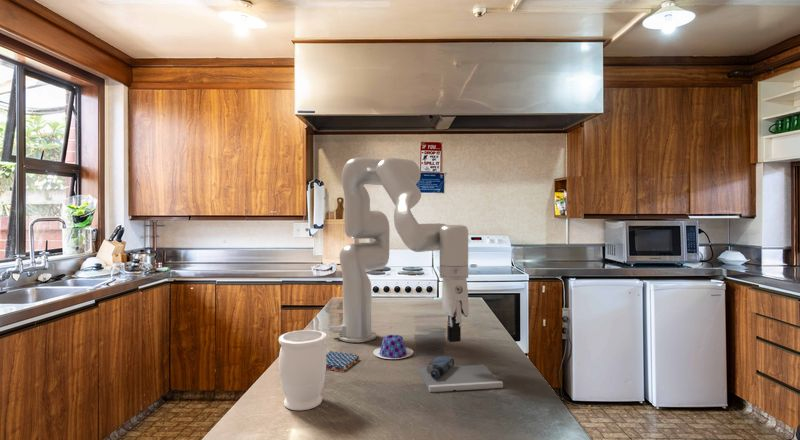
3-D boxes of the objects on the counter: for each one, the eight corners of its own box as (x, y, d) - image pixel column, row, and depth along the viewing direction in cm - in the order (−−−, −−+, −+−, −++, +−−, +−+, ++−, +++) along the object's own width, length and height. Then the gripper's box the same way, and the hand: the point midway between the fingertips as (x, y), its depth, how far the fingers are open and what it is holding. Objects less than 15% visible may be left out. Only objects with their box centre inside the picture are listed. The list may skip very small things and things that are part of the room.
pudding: (374, 348, 137) (374, 331, 137) (413, 348, 136) (413, 331, 136) (371, 361, 125) (371, 343, 125) (413, 361, 124) (413, 343, 124)
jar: (283, 393, 102) (283, 329, 102) (328, 391, 103) (328, 328, 103) (274, 414, 92) (274, 343, 91) (324, 412, 92) (324, 342, 92)
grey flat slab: (429, 392, 103) (429, 387, 103) (418, 370, 117) (418, 365, 117) (503, 387, 105) (503, 382, 105) (483, 366, 119) (484, 362, 119)
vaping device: (455, 366, 118) (438, 381, 107) (437, 364, 121) (419, 379, 110) (455, 356, 118) (437, 371, 108) (437, 355, 121) (418, 368, 110)
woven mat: (309, 369, 119) (309, 361, 119) (329, 357, 129) (329, 350, 129) (343, 374, 115) (343, 366, 115) (361, 361, 125) (361, 354, 125)
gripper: (476, 275, 108) (476, 349, 109) (459, 267, 123) (459, 332, 123) (446, 276, 107) (447, 350, 108) (433, 268, 122) (433, 333, 122)
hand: (453, 340), depth 116 cm, fingers closed
